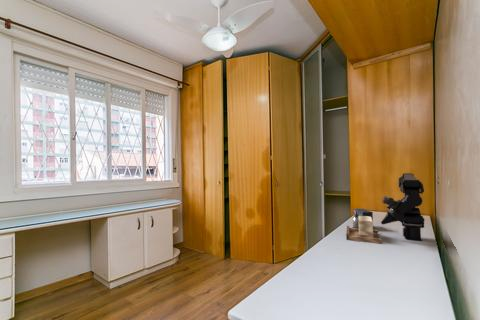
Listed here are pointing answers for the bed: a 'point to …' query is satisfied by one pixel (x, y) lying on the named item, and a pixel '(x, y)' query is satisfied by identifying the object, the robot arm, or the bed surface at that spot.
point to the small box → (363, 213)
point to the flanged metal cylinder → (355, 221)
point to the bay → (354, 235)
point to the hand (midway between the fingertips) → (381, 223)
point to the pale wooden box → (365, 226)
